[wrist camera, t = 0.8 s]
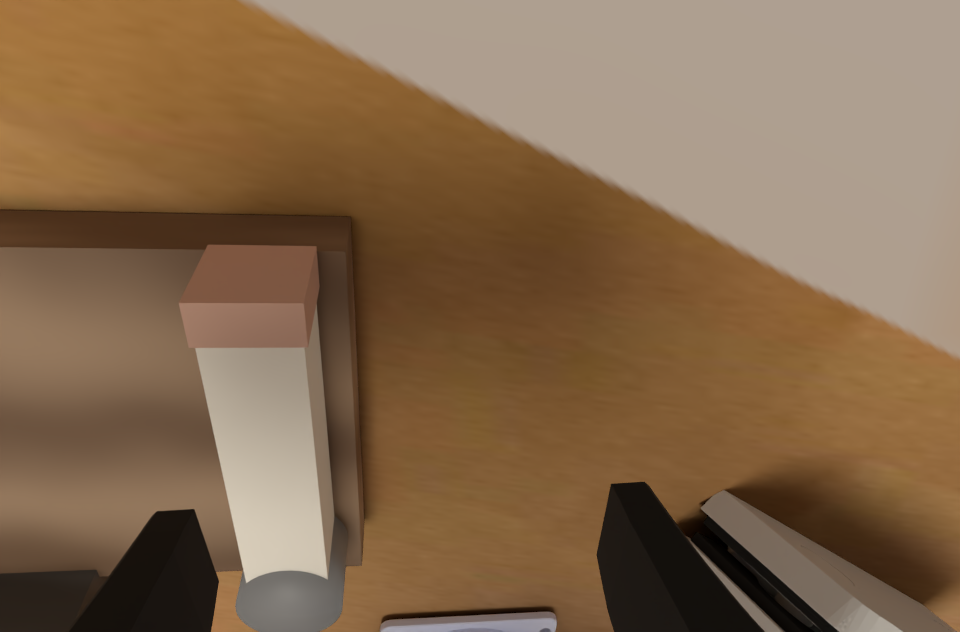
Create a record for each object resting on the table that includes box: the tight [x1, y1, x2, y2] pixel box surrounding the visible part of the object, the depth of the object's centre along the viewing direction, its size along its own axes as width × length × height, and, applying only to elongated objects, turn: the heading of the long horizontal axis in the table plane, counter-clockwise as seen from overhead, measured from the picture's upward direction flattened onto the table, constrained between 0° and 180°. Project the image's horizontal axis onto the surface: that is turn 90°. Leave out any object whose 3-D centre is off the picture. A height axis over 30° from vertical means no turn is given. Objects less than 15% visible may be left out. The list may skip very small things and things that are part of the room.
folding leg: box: [179, 245, 348, 632], centre depth 19 cm, size 13×3×3 cm, turn 176°
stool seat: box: [0, 210, 364, 632], centre depth 19 cm, size 14×16×5 cm
